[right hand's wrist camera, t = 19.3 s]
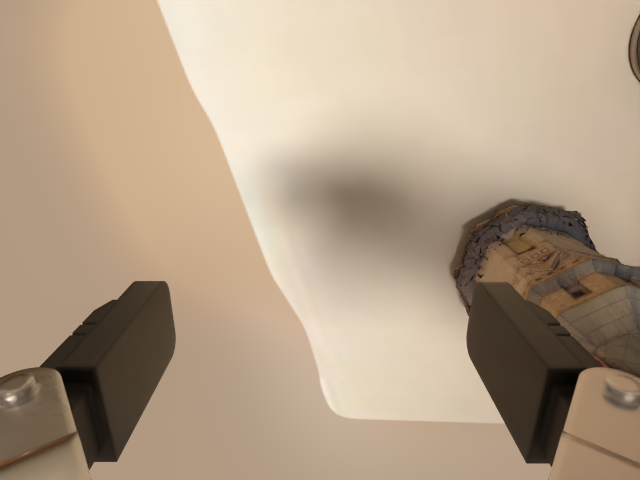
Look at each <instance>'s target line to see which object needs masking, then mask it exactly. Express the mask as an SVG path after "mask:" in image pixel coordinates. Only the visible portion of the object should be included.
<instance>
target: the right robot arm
mask: <svg viewBox="0 0 640 480" xmlns="http://www.w3.org/2000/svg"><path fill="white" fill-rule="evenodd" d="M630 58H631V64H632V67H633V70H634V72H635V74H636V76H637V77H638V79H639V80H640V17H639V19H638V21H637V23H636V26H635V28H634V31H633V34H632V38H631V44H630ZM560 324H561V323H560V322H559V321H558V320H557V319H556V318H555V317H554V316H553V315H552V314H551V313H550V312H549V311H547V310H546V309H544V308H542V307H540V306H539V305H537V304H535V303H533V302H532V301H526V300H525V299H524V298H523V297H522V296H521V295H520V294H519V293H518V292H517V291H516V290H515V289H514V287H513V286H512V285H511V284H510V283H508V282H477V283H476V284H475V286H474V289H473V295H472V302H471V308H470V315H469V322H468V329H467V349H468V353H469V356H470V359H471V361H472V362H473V364H474V366H475V368H476V370H477V372H478V374H479V376H480V377H481V379H482V381H483V383H484V385H485V387H486V389H487V390H488V392H489V394H490V396H491V398H492V400H493V402H494V404H495V405H496V407H497V409H498V411H499V413H500V415H501V417H502V418H503V420H504V422H505V424H506V426H507V428H508V430H509V431H510V433H511V435H512V437H513V439H514V441H515V443H516V445H517V446H518V448H519V450H520V452H521V454H522V456H523V458H524V459H525V461H526V463H549V464H550V465H551V467H552V469H551V472H550V476H549V479H548V480H640V378H639V377H637V376H635V375H632V374H629V373H627V372H624V371H620V370H616V369H611V368H604V367H603V366H602V365H601V364H600V363H599V362H598V361H597V360H596V359H595V358H594V357H593V356H592V355H591V354H590V353H589V352H588V351H587V350H586V349H585V348H584V347H583V346H582V345H581V344H580V343H579V342H578V341H577V340H576V339H575V338H574V337H571V334H570V333H569V332H568V331H567V330H566V329H565V328H564V327H563V326H561V325H560ZM175 341H176V335H175V327H174V320H173V313H172V306H171V299H170V292H169V287H168V285H167V283H166V282H165V281H135V282H133V283H132V284H131V285H130V286H129V287H128V289H127V290H126V291H125V292H124V293H123V294H122V295H121V296H120V297H119V298H118V299H117V300H112V301H110V302H108V303H106V304H105V305H103V306H101V307H99V308H98V309H96V310H94V311H93V312H92V313H91V314H90V315H89V316H88V318H86V320H85V321H84V322H83V324H82V325H80V326H79V327H78V328H77V329H76V330H75V331H74V332H73V335H72V336H69V337H68V338H67V339H66V340H65V341H64V342H63V343H62V344H61V345H60V346H59V347H58V348H57V349H56V350H55V351H54V352H53V354H52V355H51V356H50V357H49V358H48V359H47V360H46V361H45V362H44V363H43V364H42V365H41V366H40V367H36V368H29V369H24V370H20V371H16V372H13V373H11V374H8V375H5V376H3V377H1V378H0V480H92V479H91V476H90V472H89V470H90V468H91V466H92V465H93V463H94V462H117V460H118V458H119V457H120V455H121V453H122V451H123V449H124V447H125V445H126V443H127V441H128V440H129V438H130V436H131V434H132V432H133V430H134V428H135V426H136V424H137V423H138V421H139V419H140V417H141V415H142V413H143V411H144V409H145V407H146V406H147V404H148V402H149V400H150V398H151V396H152V394H153V392H154V391H155V389H156V387H157V385H158V383H159V381H160V379H161V377H162V375H163V374H164V372H165V370H166V368H167V366H168V364H169V362H170V360H171V358H172V356H173V353H174V349H175Z"/></svg>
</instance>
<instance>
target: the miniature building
mask: <svg viewBox="0 0 640 480" xmlns="http://www.w3.org/2000/svg"><path fill="white" fill-rule="evenodd" d="M495 214H496V216H494V217H493V218H491V219H488V220H486V221H484V222H481V223H479V224H477V226H476V227H475V228H474V229H471V230H470V231H469V234H471V235H472V237H471V239H470V241H469V242H468V244H467V245H466V247H465V249H464V252H463V255H462V257H461V260H460V262H459V264H458V266H457V268H456V270H455V271H454V278H455V279H456V280H457V282H456V286H457V289H458V290H459V291H460V293H461V296H462V297H463V299H464V301H465V302H464V305H465V308H466V311H467V313H468V316H469V315H470V308H471V302H472V295H473V289H474V286H475V284H476V283H477V282H482V281H483V282H508V283H510V284H511V285H512V286H513V287H514V289H515V290H516V291H517V292H518V293H519V294H520V295H521V296H522V297H523V298H524V299H525V300H526V301H532V302H533V303H535V304H537V305H539V306H540V307H542V308H544V309H546V310H547V311H549V312H550V313H551V314H552V315H553V316H554V317H555V318H556V319H557V320H558V321H559V322H560V323H561V324H560V325H561V326H563V327H564V328H565V329H566V330H567V331H568V332H569V333H570V334H571V337H574V338H575V339H576V340H577V341H578V342H579V343H580V344H581V345H582V346H583V347H584V348H585V349H586V350H587V351H588V352H589V353H590V354H591V355H592V356H593V357H594V358H595V359H596V360H597V361H598V362H599V363H600V364H601V365H602V366H603V367H604V368H611V369H616V370H620V371H624V372H627V373H629V374H632V375H635V376H637V377H639V378H640V267H633V266H628V265H623V264H621V263H620V261H619V260H618V259H614V258H609V257H605V256H603V255H601V254H600V253H599V252H597V251H596V249H595V246H594V244H593V242H592V241H591V239H590V237H589V234H588V230H587V229H586V227H587V226H586V224H585V223H584V221H586V220H585V219H584V218H583V217H581V213H578V212H577V211H564V210H558V209H554V208H551V207H535V206H533V205H528V204H526V203H518V204H516V205H512V206H510V207H507V208H505V209H502V210H499V211H496V210H495ZM517 215H518V216H517ZM515 218H516V219H519V220H516V221H514V219H515ZM530 218H532V219H530ZM526 219H527V221H528V222H527V223H528V224H527V223H525V222H526ZM528 219H529V220H528ZM546 219H547V220H546ZM540 220H541V222H540ZM506 222H507V223H506ZM580 222H581V223H580ZM582 223H583V224H584V225H583V224H582ZM532 225H533V226H535V228H534V227H533V226H532ZM540 225H541V227H540ZM581 226H582V227H581ZM500 227H501V231H500V230H499V229H498V228H500ZM526 228H527V230H528V229H529V230H528V231H527V230H526ZM587 228H588V227H587ZM584 229H585V230H584ZM540 230H549V231H540ZM484 232H485V233H484ZM514 232H515V235H514ZM550 232H551V233H552V235H551V233H550ZM521 233H525V234H523V235H521V236H520V234H521ZM496 235H497V236H499V237H501V238H500V239H497V237H496ZM563 235H564V236H563ZM492 236H493V237H492ZM565 236H566V237H565ZM479 237H480V239H479V241H478V243H476V242H477V239H478V238H479ZM487 238H491V239H487ZM493 238H494V239H493ZM502 238H503V239H505V240H504V241H503V240H502ZM519 238H520V240H519ZM516 239H517V240H516ZM486 240H487V241H486ZM493 240H495V241H493ZM499 240H501V241H503V243H504V244H502V242H501V241H499ZM485 241H486V243H485ZM484 243H485V244H484ZM477 244H478V245H477ZM499 244H502V245H501V246H500V245H499ZM476 245H477V247H476ZM504 245H505V246H504ZM506 246H507V247H506ZM475 247H476V248H475ZM487 248H488V249H489V250H488V249H487ZM480 249H481V252H482V253H480ZM485 249H486V250H485ZM495 249H496V250H495ZM474 250H475V251H474ZM489 251H490V252H489ZM479 253H480V254H479ZM484 254H485V255H484ZM479 255H481V256H482V257H481V259H480V256H479ZM483 255H484V256H485V257H486V258H487V259H488V260H486V258H485V257H484V256H483ZM472 257H473V258H474V259H473V258H472ZM478 258H479V259H478ZM476 259H478V260H479V261H478V260H476ZM475 262H476V263H477V264H478V265H479V266H478V265H477V264H476V263H475ZM475 264H476V265H475ZM464 265H465V267H464ZM462 266H463V267H464V268H463V267H462ZM461 267H462V268H461ZM479 267H480V269H479V270H478V268H479ZM474 273H475V274H474ZM478 274H480V276H481V275H483V274H484V275H483V276H482V277H481V279H480V277H478ZM473 278H474V279H473Z"/></svg>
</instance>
